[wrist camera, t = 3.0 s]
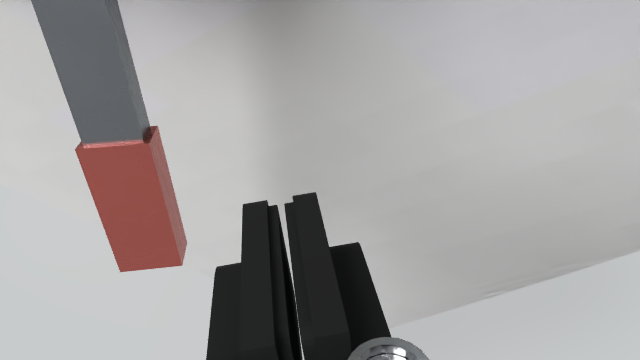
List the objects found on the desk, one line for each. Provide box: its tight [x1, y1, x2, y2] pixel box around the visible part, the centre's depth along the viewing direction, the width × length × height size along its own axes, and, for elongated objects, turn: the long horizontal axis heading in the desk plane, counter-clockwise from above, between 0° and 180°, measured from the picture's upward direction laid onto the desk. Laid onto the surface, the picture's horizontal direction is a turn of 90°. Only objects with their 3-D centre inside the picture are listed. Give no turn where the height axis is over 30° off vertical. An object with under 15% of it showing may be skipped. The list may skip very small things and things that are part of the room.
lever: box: [31, 0, 187, 272], centre depth 12 cm, size 16×3×1 cm, turn 2°
